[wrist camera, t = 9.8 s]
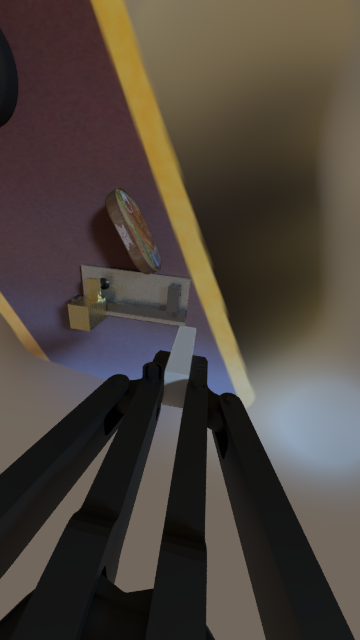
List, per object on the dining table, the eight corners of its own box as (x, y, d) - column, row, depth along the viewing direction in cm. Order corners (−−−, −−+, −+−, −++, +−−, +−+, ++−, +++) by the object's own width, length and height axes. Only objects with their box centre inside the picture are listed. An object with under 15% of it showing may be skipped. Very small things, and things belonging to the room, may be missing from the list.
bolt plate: (83, 264, 45) (80, 264, 44) (191, 278, 43) (190, 279, 42) (87, 310, 49) (85, 311, 48) (185, 324, 47) (184, 326, 46)
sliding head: (91, 274, 44) (64, 284, 36) (109, 276, 44) (86, 286, 36) (94, 311, 48) (70, 328, 40) (111, 314, 47) (90, 331, 39)
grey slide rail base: (81, 272, 45) (68, 276, 40) (189, 287, 42) (187, 293, 38) (85, 307, 48) (73, 314, 44) (185, 321, 46) (182, 330, 42)
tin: (165, 266, 43) (155, 274, 35) (152, 272, 43) (140, 280, 36) (131, 190, 38) (111, 180, 30) (117, 198, 39) (94, 190, 31)
